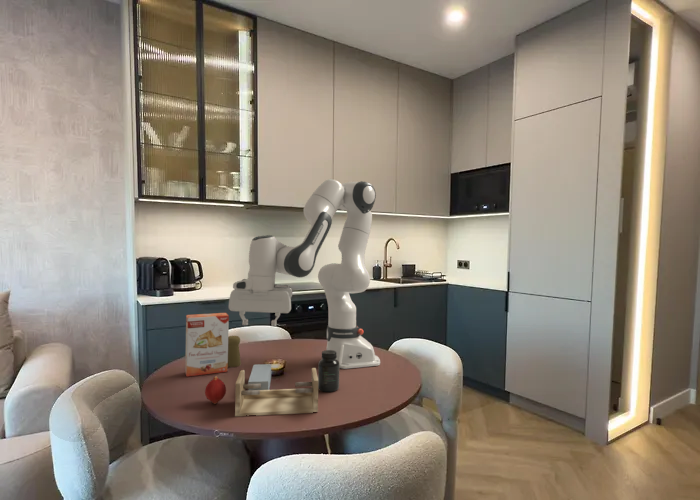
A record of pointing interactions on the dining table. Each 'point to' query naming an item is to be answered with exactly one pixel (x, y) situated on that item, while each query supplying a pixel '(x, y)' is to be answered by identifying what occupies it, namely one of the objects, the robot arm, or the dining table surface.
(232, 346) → the olive double rounded piece
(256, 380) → the light grey rectangular block
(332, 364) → the supplement bottle
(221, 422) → the dining table surface
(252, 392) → the tray
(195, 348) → the cracker box
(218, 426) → the dining table surface
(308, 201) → the robot arm
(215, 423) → the dining table surface
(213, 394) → the red round piece
